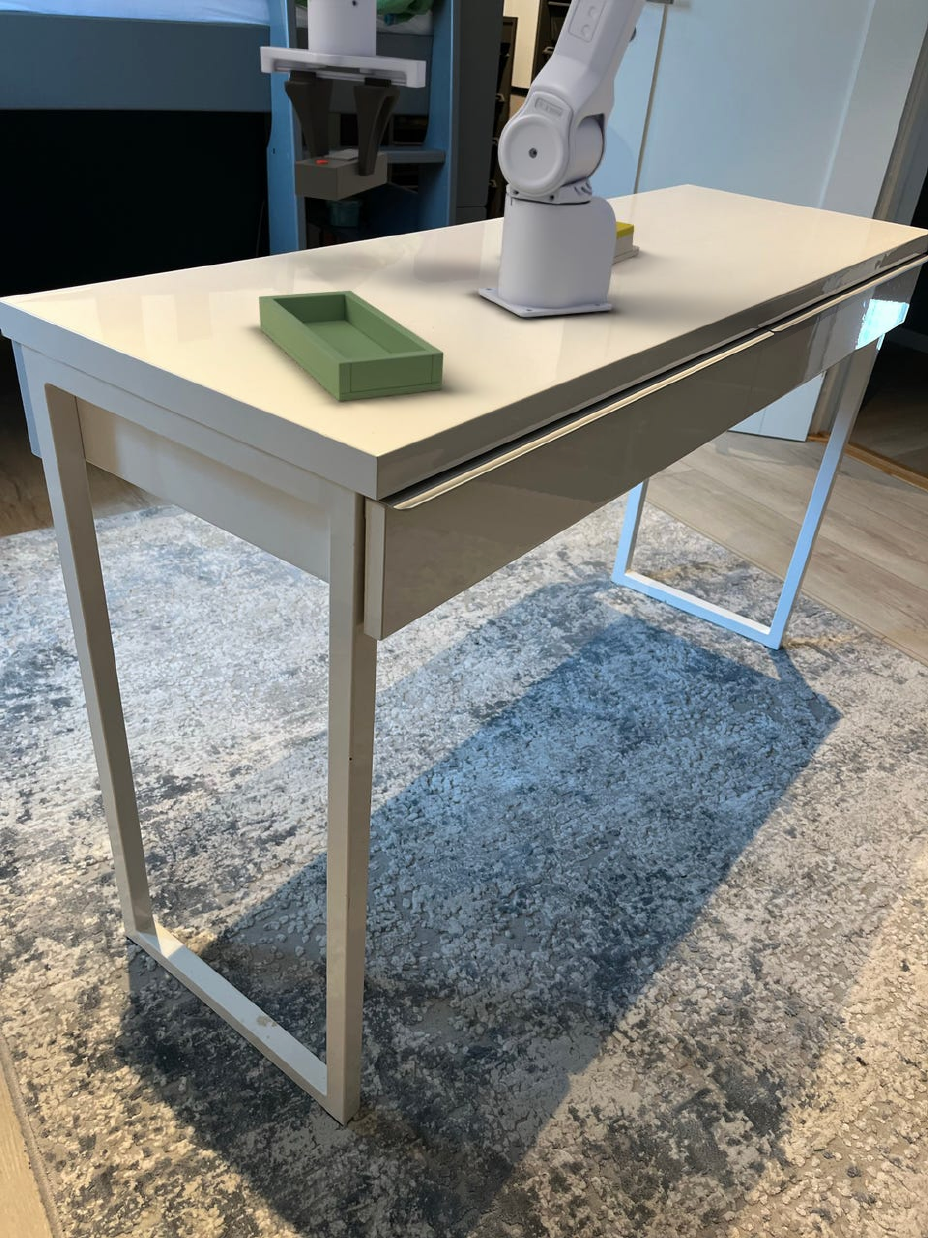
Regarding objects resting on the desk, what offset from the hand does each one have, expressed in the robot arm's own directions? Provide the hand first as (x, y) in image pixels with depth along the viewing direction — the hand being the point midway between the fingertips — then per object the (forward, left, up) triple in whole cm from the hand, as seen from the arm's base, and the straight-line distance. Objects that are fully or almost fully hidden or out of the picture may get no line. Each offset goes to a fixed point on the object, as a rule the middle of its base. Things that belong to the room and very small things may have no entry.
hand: (342, 171), depth 84 cm
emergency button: (-27, 0, -9) cm, 28 cm away
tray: (+10, +25, -8) cm, 28 cm away
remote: (0, 0, -1) cm, 1 cm away
